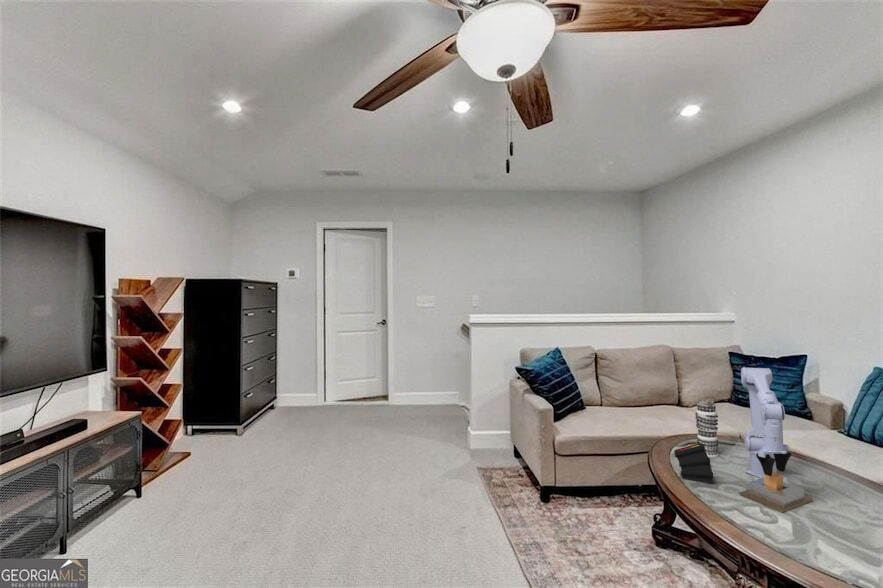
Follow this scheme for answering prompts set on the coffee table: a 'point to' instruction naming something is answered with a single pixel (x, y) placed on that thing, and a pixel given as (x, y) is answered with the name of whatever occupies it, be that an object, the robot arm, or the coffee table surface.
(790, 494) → the socket
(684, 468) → the black ridged slab
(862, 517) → the coffee table surface
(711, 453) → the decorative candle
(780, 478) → the orange rectangular block
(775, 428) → the robot arm
